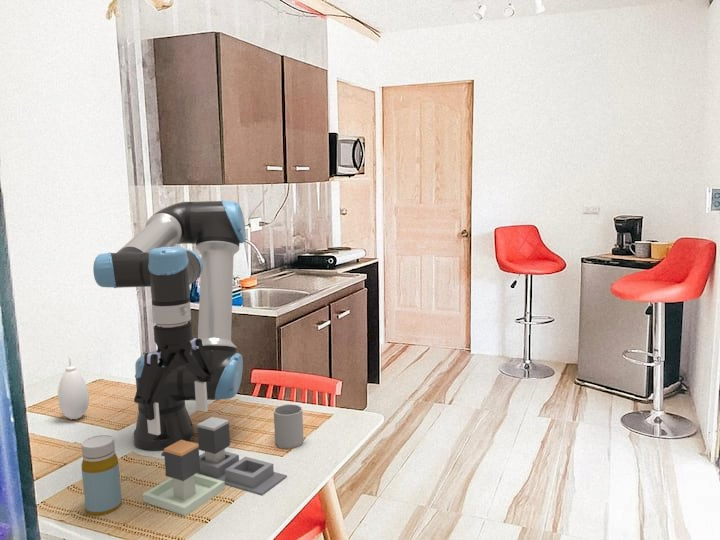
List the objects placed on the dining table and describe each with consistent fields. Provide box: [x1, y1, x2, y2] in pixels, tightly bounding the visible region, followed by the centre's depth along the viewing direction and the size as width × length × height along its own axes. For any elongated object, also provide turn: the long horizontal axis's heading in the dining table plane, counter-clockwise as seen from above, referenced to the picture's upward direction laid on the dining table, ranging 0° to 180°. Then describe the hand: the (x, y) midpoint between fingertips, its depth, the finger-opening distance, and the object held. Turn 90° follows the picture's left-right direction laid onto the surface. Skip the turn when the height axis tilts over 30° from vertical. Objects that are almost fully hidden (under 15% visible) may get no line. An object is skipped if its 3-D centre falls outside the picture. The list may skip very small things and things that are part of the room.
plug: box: [163, 440, 200, 500], centre depth 133 cm, size 5×5×11 cm
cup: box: [273, 404, 304, 450], centre depth 160 cm, size 7×10×9 cm
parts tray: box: [142, 473, 226, 517], centre depth 134 cm, size 12×12×2 cm
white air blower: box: [57, 358, 90, 420], centre depth 177 cm, size 8×8×18 cm
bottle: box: [81, 434, 123, 516], centre depth 129 cm, size 7×7×15 cm
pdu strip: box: [161, 416, 288, 496], centre depth 144 cm, size 34×9×12 cm, turn 61°
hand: (179, 421), depth 131 cm, fingers open, 13 cm apart
